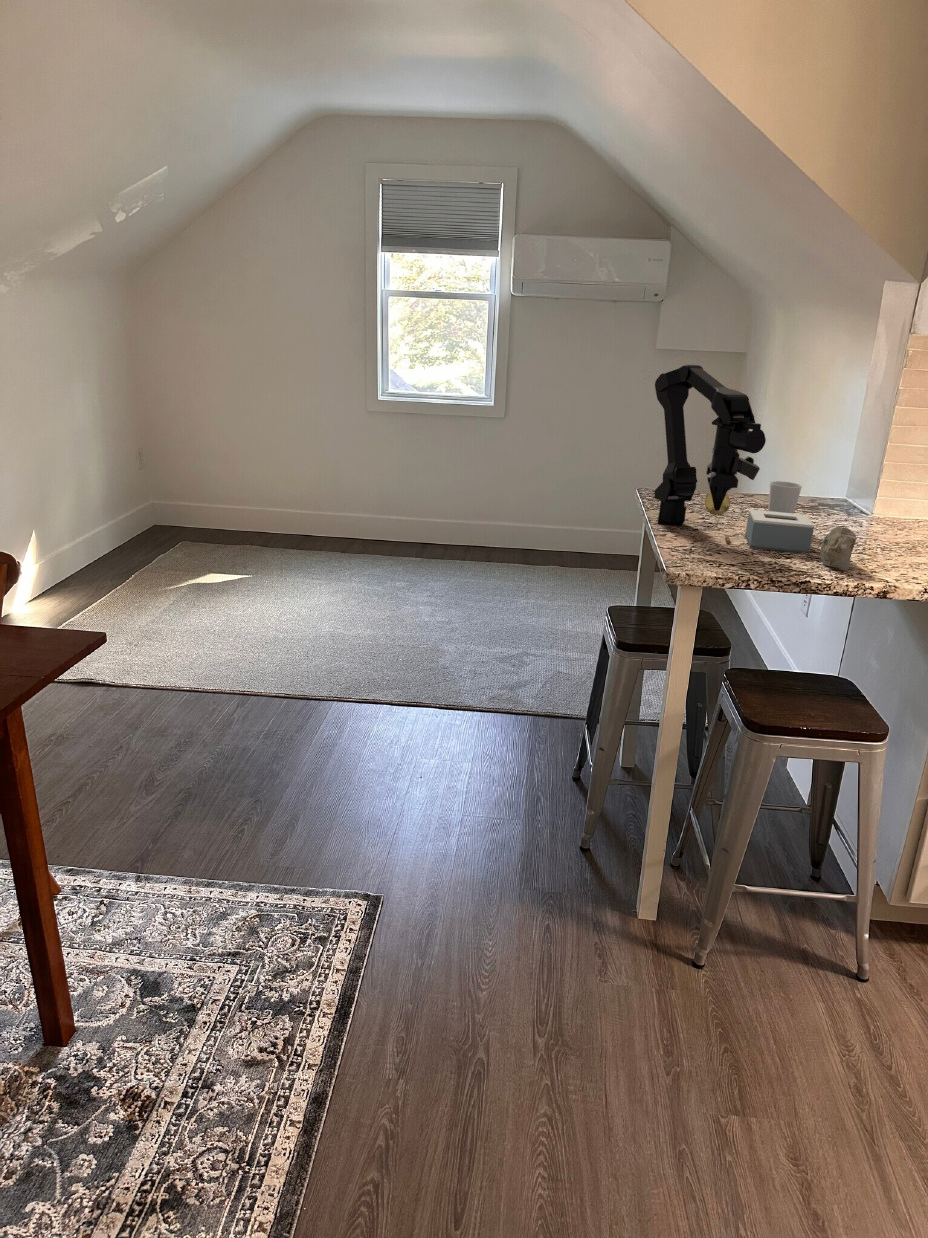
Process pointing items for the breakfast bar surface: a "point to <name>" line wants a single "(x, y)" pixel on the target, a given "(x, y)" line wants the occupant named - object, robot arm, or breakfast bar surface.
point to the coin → (710, 505)
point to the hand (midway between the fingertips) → (716, 509)
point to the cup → (783, 496)
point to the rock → (838, 548)
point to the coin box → (779, 531)
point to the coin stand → (725, 538)
